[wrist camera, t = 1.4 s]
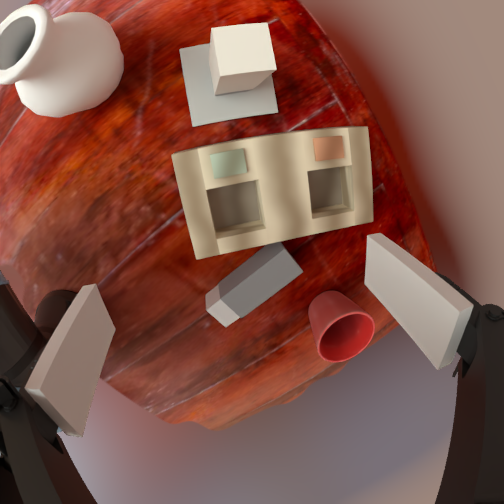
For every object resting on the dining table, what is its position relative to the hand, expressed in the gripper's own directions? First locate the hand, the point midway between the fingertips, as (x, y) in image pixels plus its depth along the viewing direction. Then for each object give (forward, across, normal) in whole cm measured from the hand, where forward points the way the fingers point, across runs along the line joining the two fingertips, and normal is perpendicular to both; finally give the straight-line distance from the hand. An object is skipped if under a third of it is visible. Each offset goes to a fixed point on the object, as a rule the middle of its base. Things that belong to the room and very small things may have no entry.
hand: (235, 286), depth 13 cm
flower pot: (+30, +16, -26) cm, 43 cm away
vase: (+30, -17, +21) cm, 40 cm away
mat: (+30, +4, +14) cm, 33 cm away
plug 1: (+29, +4, +14) cm, 33 cm away
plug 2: (+30, +2, -16) cm, 34 cm away
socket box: (+30, +8, -2) cm, 31 cm away
